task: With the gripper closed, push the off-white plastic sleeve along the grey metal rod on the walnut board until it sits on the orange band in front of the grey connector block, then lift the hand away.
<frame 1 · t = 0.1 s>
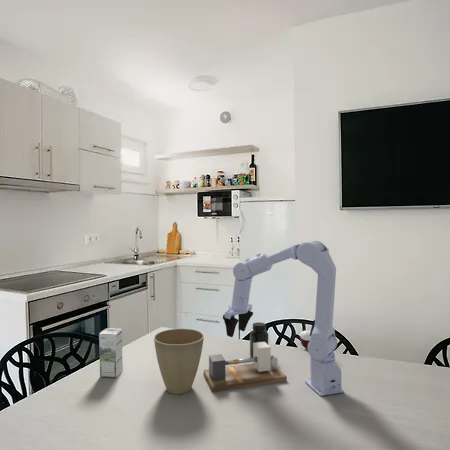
hand: (235, 333, 126), 11 cm above the table, tool pointing down, fingers open, 7 cm apart
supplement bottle: (259, 356, 132), on the table
cocoa: (308, 347, 141), on the table
board: (244, 377, 115), on the table
syrup box: (111, 374, 118), on the table
rail: (247, 365, 115), on the board, point 4 cm above the table
plant pot: (179, 388, 108), on the table
sleeve: (261, 356, 116), point 6 cm above the table, slide at 0.0 cm
connector: (217, 367, 112), on the board, point 4 cm above the table
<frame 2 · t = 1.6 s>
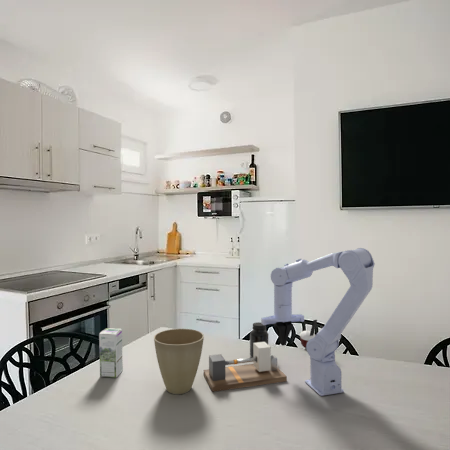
hand: (282, 344, 118), 9 cm above the table, tool pointing down, fingers closed
nothing on the table moved.
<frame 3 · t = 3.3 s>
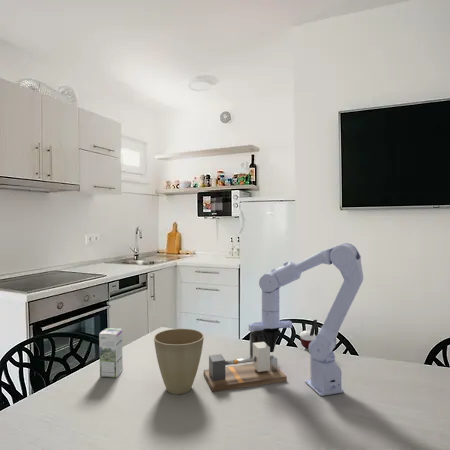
hand: (270, 351, 117), 8 cm above the table, tool pointing down, fingers closed
sleeve: (261, 356, 116), point 6 cm above the table, slide at 0.2 cm, touching gripper
everything else where it was.
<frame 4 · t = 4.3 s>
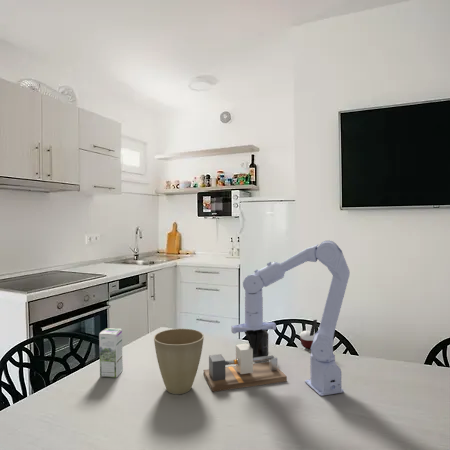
hand: (253, 353, 115), 8 cm above the table, tool pointing down, fingers closed
sleeve: (244, 358, 114), point 6 cm above the table, slide at 6.0 cm, touching gripper
everything else where it was.
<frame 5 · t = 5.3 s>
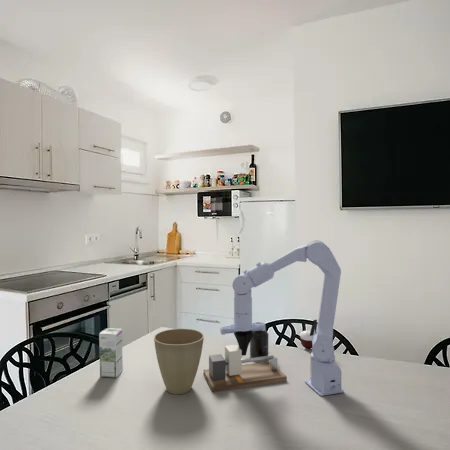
hand: (243, 354, 114), 8 cm above the table, tool pointing down, fingers closed
sleeve: (233, 359, 113), point 6 cm above the table, slide at 9.7 cm, touching gripper
everything else where it was.
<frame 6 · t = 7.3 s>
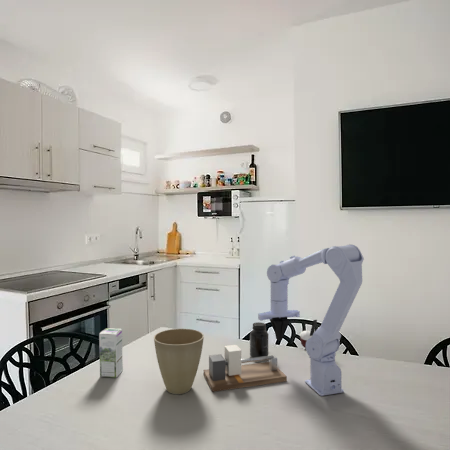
hand: (279, 339, 121), 10 cm above the table, tool pointing down, fingers closed
sleeve: (232, 359, 113), point 6 cm above the table, slide at 9.8 cm
everything else where it was.
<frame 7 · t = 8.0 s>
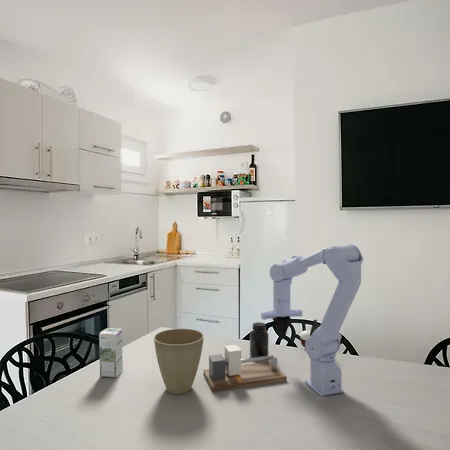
hand: (281, 338, 122), 10 cm above the table, tool pointing down, fingers closed
nothing on the table moved.
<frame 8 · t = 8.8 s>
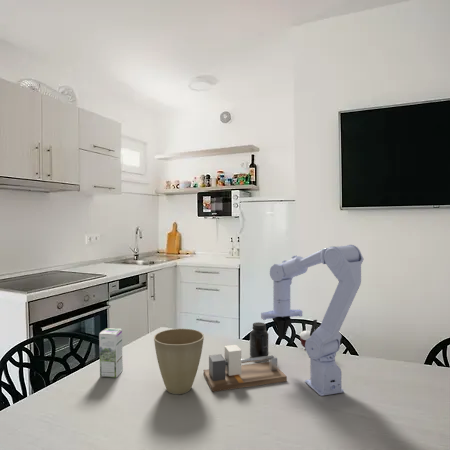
hand: (281, 338, 122), 10 cm above the table, tool pointing down, fingers closed
nothing on the table moved.
at the end: sleeve slide at 9.8 cm; the gripper is holding nothing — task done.
